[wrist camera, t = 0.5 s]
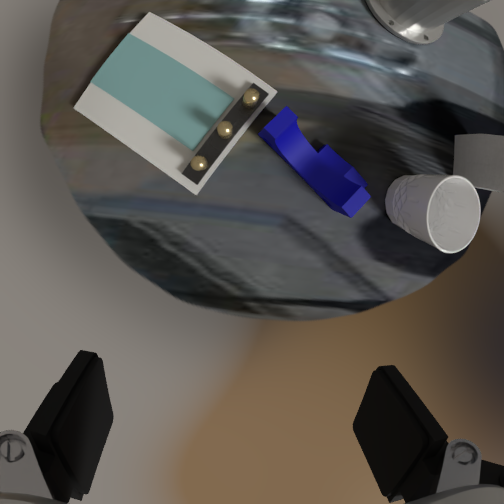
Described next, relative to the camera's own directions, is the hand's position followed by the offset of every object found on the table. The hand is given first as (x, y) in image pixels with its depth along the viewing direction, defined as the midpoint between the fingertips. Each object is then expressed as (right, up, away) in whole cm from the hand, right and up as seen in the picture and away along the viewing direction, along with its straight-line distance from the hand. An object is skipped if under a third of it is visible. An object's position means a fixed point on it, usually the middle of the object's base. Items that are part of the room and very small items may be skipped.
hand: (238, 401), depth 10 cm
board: (-8, +22, +21) cm, 31 cm away
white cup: (+20, +11, +26) cm, 35 cm away
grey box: (+30, +18, +25) cm, 43 cm away
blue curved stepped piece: (+7, +15, +24) cm, 30 cm away
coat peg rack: (-2, +17, +21) cm, 27 cm away
